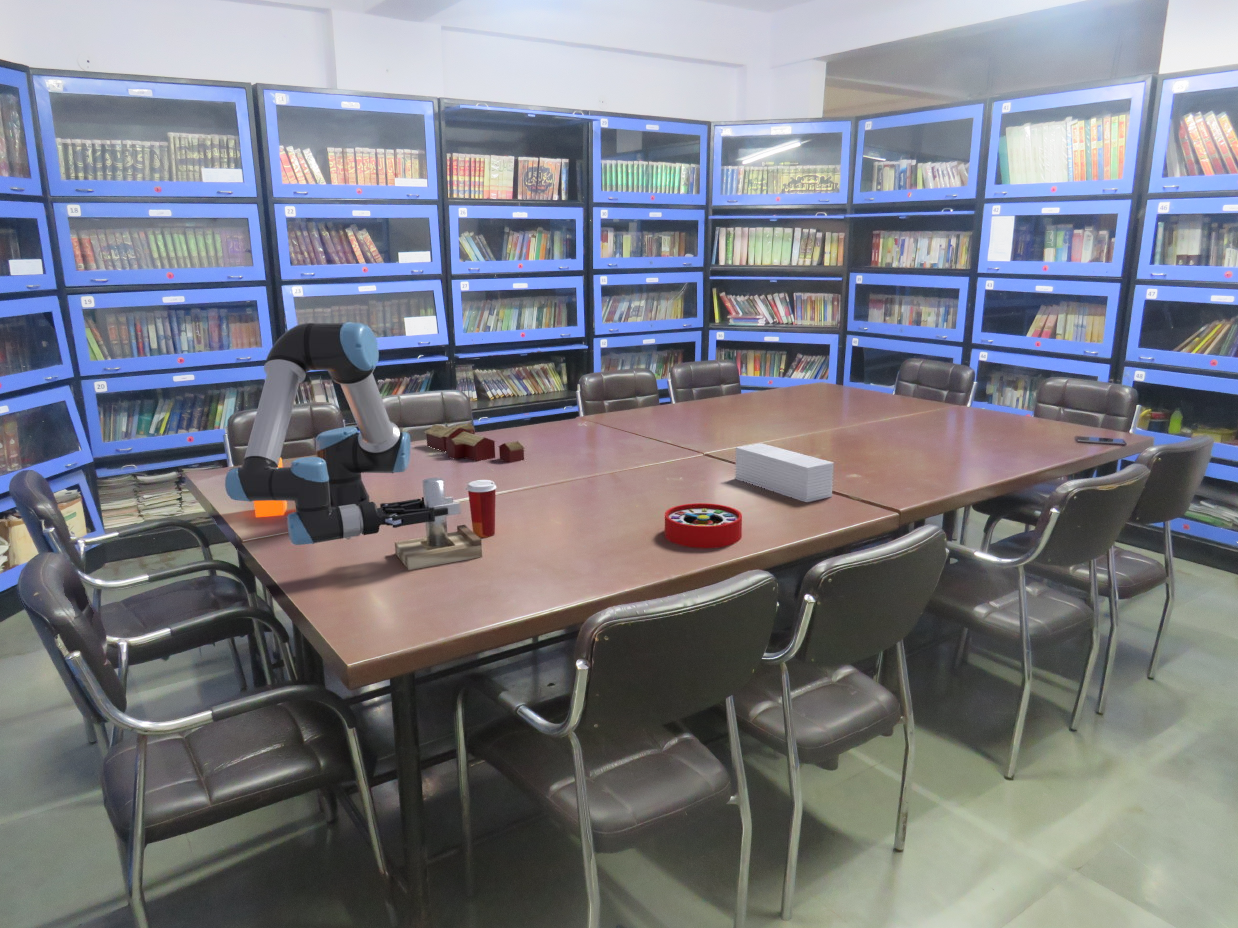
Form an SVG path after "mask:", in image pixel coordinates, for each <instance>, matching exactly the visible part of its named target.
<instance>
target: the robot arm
mask: <svg viewBox="0 0 1238 928" xmlns="http://www.w3.org/2000/svg"><path fill="white" fill-rule="evenodd" d="M379 352H380V351H379V347H378V340H377V338H376V336H375V333H374V331H373V330H372V328H371V327H370V326H368V325H367V324H365V323H361V322H353V321H348V322H325V323H324V322H323V323H322V322H315V323H312V322H306V323H301V324H298V325H295V326H293V327H291V328H290V329H288V330H287V331H286V332H284V333H283V334H282V335H281V336H279V338H278V339H277V341H276V342H275V343H274V344H273V346H272V347H271V348H270V350H269V352H268V355H267V356H266V359H265V361H264V362H265V363H264V365H263V371H264V373H265V374H266V377H265V380H264V384H263V388H262V391H261V394H260V395H261V396H260V399H259V402H258V407H257V410H256V413H255V417H254V421H253V425H252V429H251V432H250V436H249V440H248V443H247V447H246V450H245V455H244V458H243V461H242V464H241V466H236V467H231V468H230V469H229V470H228V472H227V473H226V476H225V479H224V487H225V491H226V494H227V496H228V497H229V498H230V499H231V500H233V501H239V502H240V501H242V502H250V503H251V502H254V501H272V500H275V501H287V502H289V501H291V502H292V501H293V502H294V503H295V511H293V512H290V513H288V514H287V516H286V521H287V530H288V536H289V540H290V543H291V544H292V545H294V546H301V545H303V546H304V545H311V544H312V545H314V544H318V543H324V542H330V541H335V540H341V539H346V540H351V538H354V537H360V536H361V535H363V536H369V535H374V534H378V533H379V532H380V526H384V525H386V526H392V528H394V529H397V528H399V527H403V526H404V527H405V526H409V525H410V526H411V525H417V524H423V523H425V524H426V522H435V518H437V517H443V516H446V517H448V516H455V515H461V514H462V511H461V510H462V509H461V502H460V501H459V502H454V496H445V504H444V505H438V506H433V508H424V496H423V497H421V498H415V499H407V500H403V501H402V500H400V501H395V502H386V503H385V502H384V503H383V502H382V503H380V504H379V505H380V506H379V507H377V504H376V503H375V502H374V501H371V500H370V496H369V493H368V491H367V488H366V486H365V485H364V482H363V480H362V474H365V473H366V474H395V473H396V474H397V473H404V472H405V471H406V470H407V469H408V467H409V463H410V457H411V445H412V444H411V443H412V442H411V435H410V434H409V433H408V432H406V431H402V432H401V431H400V429H399V427H398V425H396V423H394V422H393V421H391V420H390V416H389V414H388V412H387V410H386V407H385V404H384V401H383V398H382V396H381V393H380V390H379V386H378V385H377V382H376V379H375V376H374V374H373V373H374V371H375V368H376V367H377V365H378V363H379V357H380V353H379ZM309 371H327V372H328V374H329V376H330V378H331V380H332V381H334V383H337V384H339V385H340V387H341V389H342V392H343V394H344V397H345V400H346V401H347V403H348V405H349V408H350V412H351V413H352V416H353V419H354V420H355V423H356V425H357V427H356V426H345V427H338V428H333V429H329V430H325V431H322V432H320V433H319V434H318V435H317V436H316V438H315V452H316V456H307V457H299V458H296V459H294V460H292V461H291V462H290V467H284V466H283V467H278V465H279V461H280V458H282V457H281V456H282V453H283V448H284V444H285V440H286V437H287V433H288V430H289V425H290V422H291V421H290V420H291V417H292V413H293V409H294V407H295V406H294V404H295V401H296V397H297V393H298V389H299V386H300V383H302V382H304V380H305V379H306V376H307V373H308V372H309ZM357 428H358V429H357ZM358 431H359V432H358Z"/></svg>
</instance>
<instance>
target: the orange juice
mask: <svg viewBox="0 0 1238 928" xmlns="http://www.w3.org/2000/svg"><path fill="white" fill-rule="evenodd" d="M278 467H284V466H283V459H282V457H280V461H279V465H278ZM253 505H254V512H255V513H254V514H255V518H263V517H276V516H277V517H278V516H284V515H285V513H286V511H287V508H288V501H275V500H272V501H253Z"/></svg>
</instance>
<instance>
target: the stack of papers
mask: <svg viewBox="0 0 1238 928" xmlns="http://www.w3.org/2000/svg"><path fill="white" fill-rule="evenodd" d="M734 464H735V469H734V470H735V471H734V472H735V473H734V474H735V475H734V479H735V480H738V481H739V482H740V481H741V482H743V481H744V483H746V482H747V483H746V484H749V483H750V485H752V484H753V486H755V487H758V486H759V487H758V488H761V487H762V489H764V488H765V490H768V491H771V492H773V491H774V493H777V494H780V495H783V496H785V497H789V498H791V497H792V499H795V500H798V501H801V502H804V503H810V502H814V501H819V500H824V499H827V498H830V497H831V498H832V497H833V486H834V485H833V483H834V479H833V478H834V468H835V467H834V464H835V463H834V462H833V461H829V460H825V459H821V458H818V457H814V456H811V455H806V454H802V453H799V452H795V451H792V450H788V449H785V448H782V447H776V446H773V445H769V444H765V443H762V442H761V443H760V442H759V443H755V444H749V445H748V444H747V445H743V446H742V445H741V446H736V447H735V463H734Z"/></svg>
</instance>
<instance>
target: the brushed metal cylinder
mask: <svg viewBox="0 0 1238 928" xmlns="http://www.w3.org/2000/svg"><path fill="white" fill-rule="evenodd" d="M422 491H423V493H422V494H423V497H424V508H433V506H438V505H444V504H445V498H446V494H445V479H444V478H443V477H430V478H429V477H428V478H425V479H423V480H422ZM425 531H426V533H425V534H426V535H425V537H427V545H428V546H431V547H440V546H444V545H446V544H448V536H447V533H448V523H447V516H443V517H437V518H435V522H425Z"/></svg>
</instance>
